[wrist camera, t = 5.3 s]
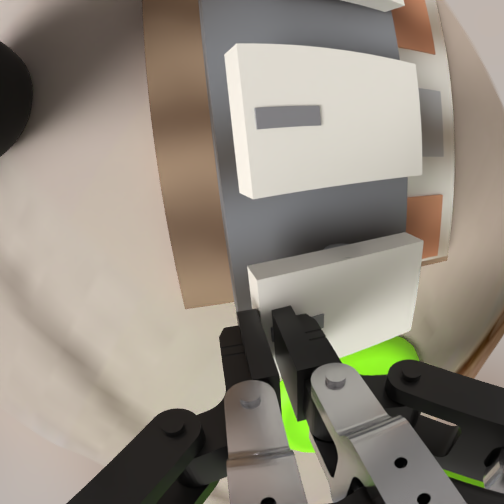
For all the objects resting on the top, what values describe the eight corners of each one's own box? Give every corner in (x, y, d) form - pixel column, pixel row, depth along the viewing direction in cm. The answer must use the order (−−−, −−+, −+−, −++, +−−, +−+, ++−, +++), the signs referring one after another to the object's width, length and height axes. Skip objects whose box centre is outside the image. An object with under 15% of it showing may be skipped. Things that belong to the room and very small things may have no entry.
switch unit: (145, -13, 13) (124, -68, 7) (422, 0, 15) (480, -22, 9) (186, 297, 20) (182, 362, 14) (435, 253, 22) (490, 289, 16)
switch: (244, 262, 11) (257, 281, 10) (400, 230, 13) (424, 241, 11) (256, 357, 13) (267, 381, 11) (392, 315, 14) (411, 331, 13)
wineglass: (402, 298, 23) (554, 461, 6) (426, 395, 29) (506, 508, 12) (229, 397, 24) (268, 610, 7) (304, 464, 30) (348, 592, 13)
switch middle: (221, 57, 8) (237, 42, 7) (389, 68, 10) (416, 64, 9) (236, 191, 10) (254, 200, 9) (396, 169, 12) (423, 175, 11)
